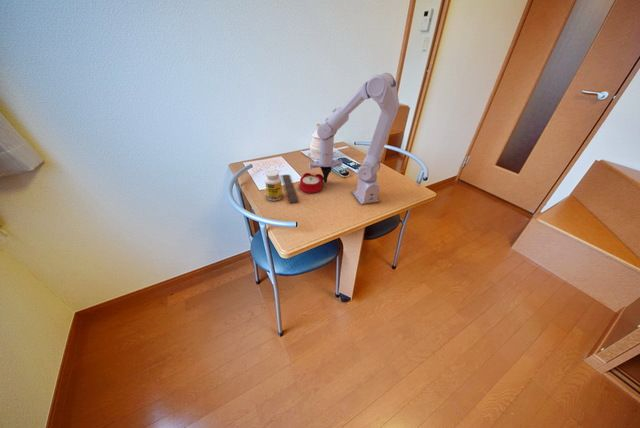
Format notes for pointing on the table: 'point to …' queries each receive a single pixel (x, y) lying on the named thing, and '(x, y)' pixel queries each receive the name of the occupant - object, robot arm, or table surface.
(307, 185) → the alarm clock
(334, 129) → the robot arm
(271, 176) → the pill bottle
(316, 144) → the honey pot
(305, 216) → the table surface
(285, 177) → the ruler
